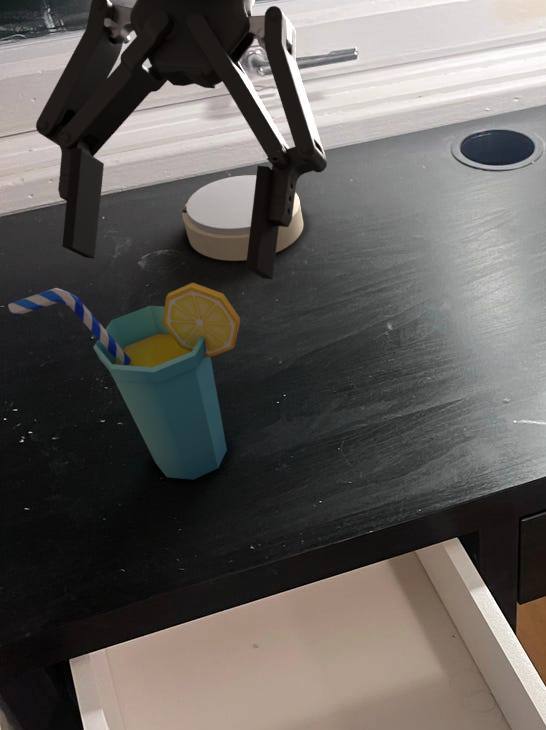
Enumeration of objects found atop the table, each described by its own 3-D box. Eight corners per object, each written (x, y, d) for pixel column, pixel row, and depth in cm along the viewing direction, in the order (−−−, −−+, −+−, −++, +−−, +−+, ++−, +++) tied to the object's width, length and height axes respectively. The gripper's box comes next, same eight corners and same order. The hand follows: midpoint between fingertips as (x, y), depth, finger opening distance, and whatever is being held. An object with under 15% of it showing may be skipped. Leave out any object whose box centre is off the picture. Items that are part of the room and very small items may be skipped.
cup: (84, 511, 71) (0, 331, 60) (85, 443, 76) (8, 263, 64) (277, 477, 73) (232, 295, 61) (267, 412, 78) (223, 232, 66)
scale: (169, 255, 93) (160, 224, 91) (217, 197, 99) (209, 167, 97) (278, 268, 91) (272, 237, 89) (319, 208, 98) (315, 178, 95)
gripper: (398, -26, 67) (356, 296, 70) (67, -45, 71) (40, 259, 74) (364, -96, 59) (318, 267, 62) (-2, -112, 64) (-30, 228, 67)
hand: (167, 263), depth 68 cm, fingers open, 13 cm apart
